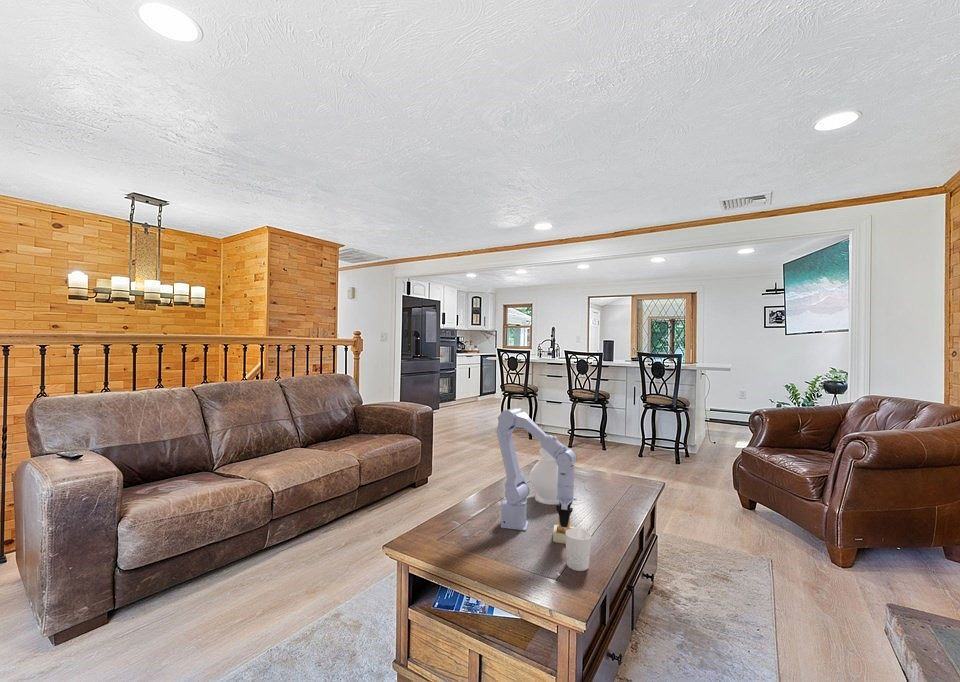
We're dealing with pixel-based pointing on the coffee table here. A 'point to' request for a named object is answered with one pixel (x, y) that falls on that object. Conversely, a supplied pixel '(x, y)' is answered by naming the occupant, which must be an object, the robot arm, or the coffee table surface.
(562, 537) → the cream square tray
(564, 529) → the brown cylinder
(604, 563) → the coffee table surface
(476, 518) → the coffee table surface
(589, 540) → the white cup
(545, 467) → the decorative vase
